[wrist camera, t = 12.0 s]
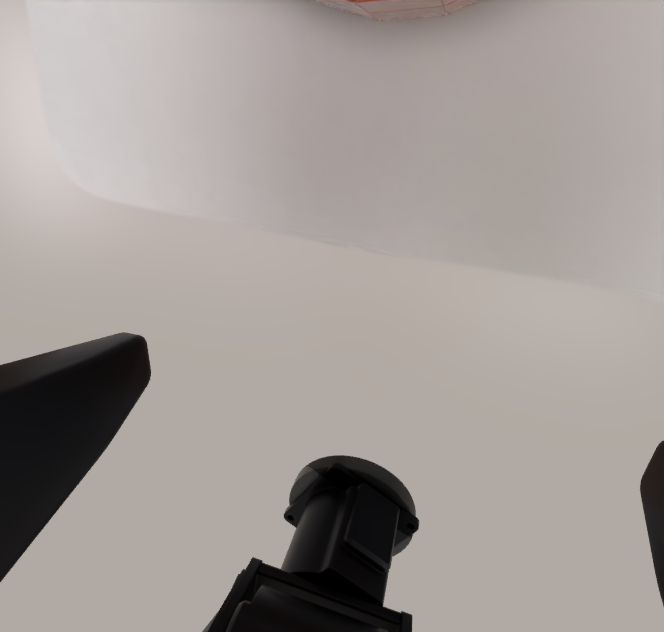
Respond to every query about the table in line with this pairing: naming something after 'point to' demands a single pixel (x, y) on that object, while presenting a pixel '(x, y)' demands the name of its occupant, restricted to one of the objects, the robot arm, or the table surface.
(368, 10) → the bowl
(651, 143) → the table surface
